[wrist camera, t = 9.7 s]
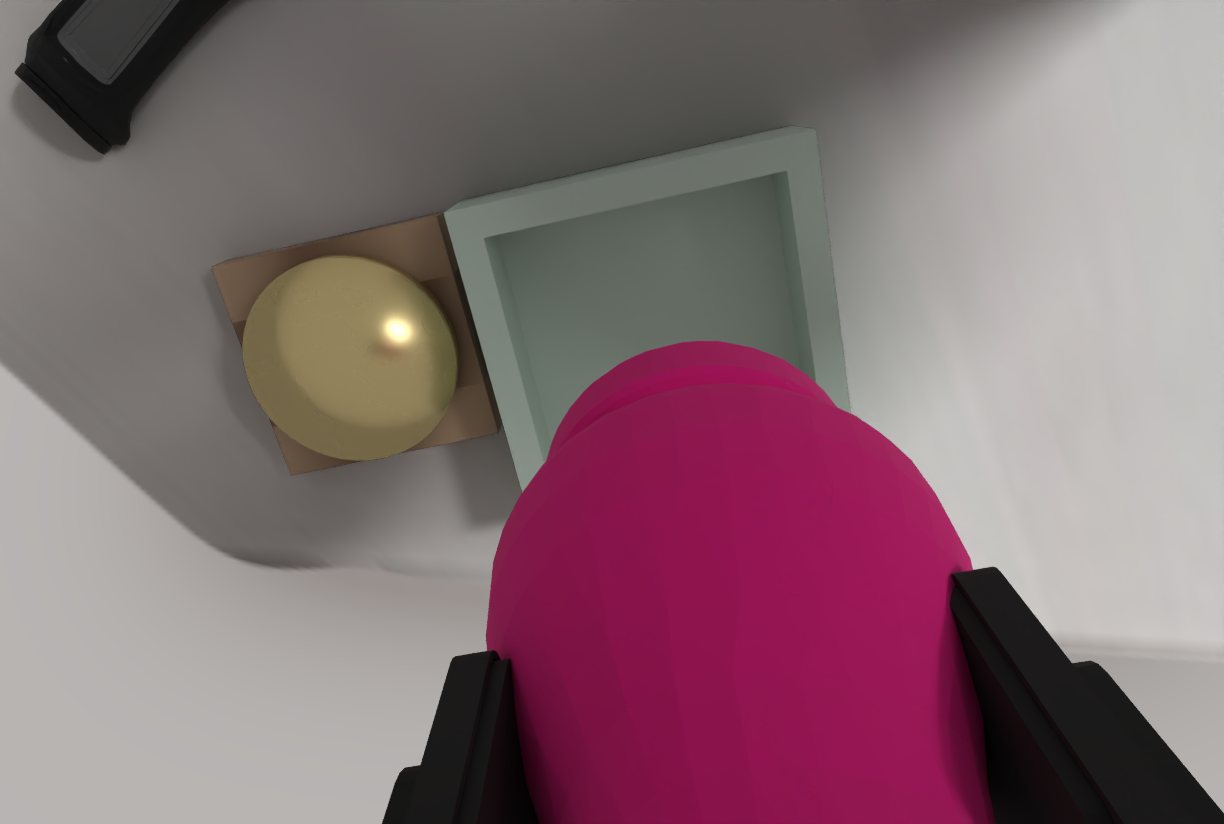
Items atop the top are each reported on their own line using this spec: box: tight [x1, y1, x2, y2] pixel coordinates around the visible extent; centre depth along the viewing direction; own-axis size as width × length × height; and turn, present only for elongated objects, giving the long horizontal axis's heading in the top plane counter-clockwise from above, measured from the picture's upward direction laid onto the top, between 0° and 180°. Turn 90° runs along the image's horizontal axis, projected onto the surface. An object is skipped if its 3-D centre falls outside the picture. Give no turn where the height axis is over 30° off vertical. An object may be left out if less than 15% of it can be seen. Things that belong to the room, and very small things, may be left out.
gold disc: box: [242, 254, 460, 461], centre depth 29 cm, size 7×7×2 cm
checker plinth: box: [211, 212, 502, 476], centre depth 30 cm, size 8×8×1 cm
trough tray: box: [444, 126, 851, 492], centre depth 29 cm, size 12×12×4 cm
